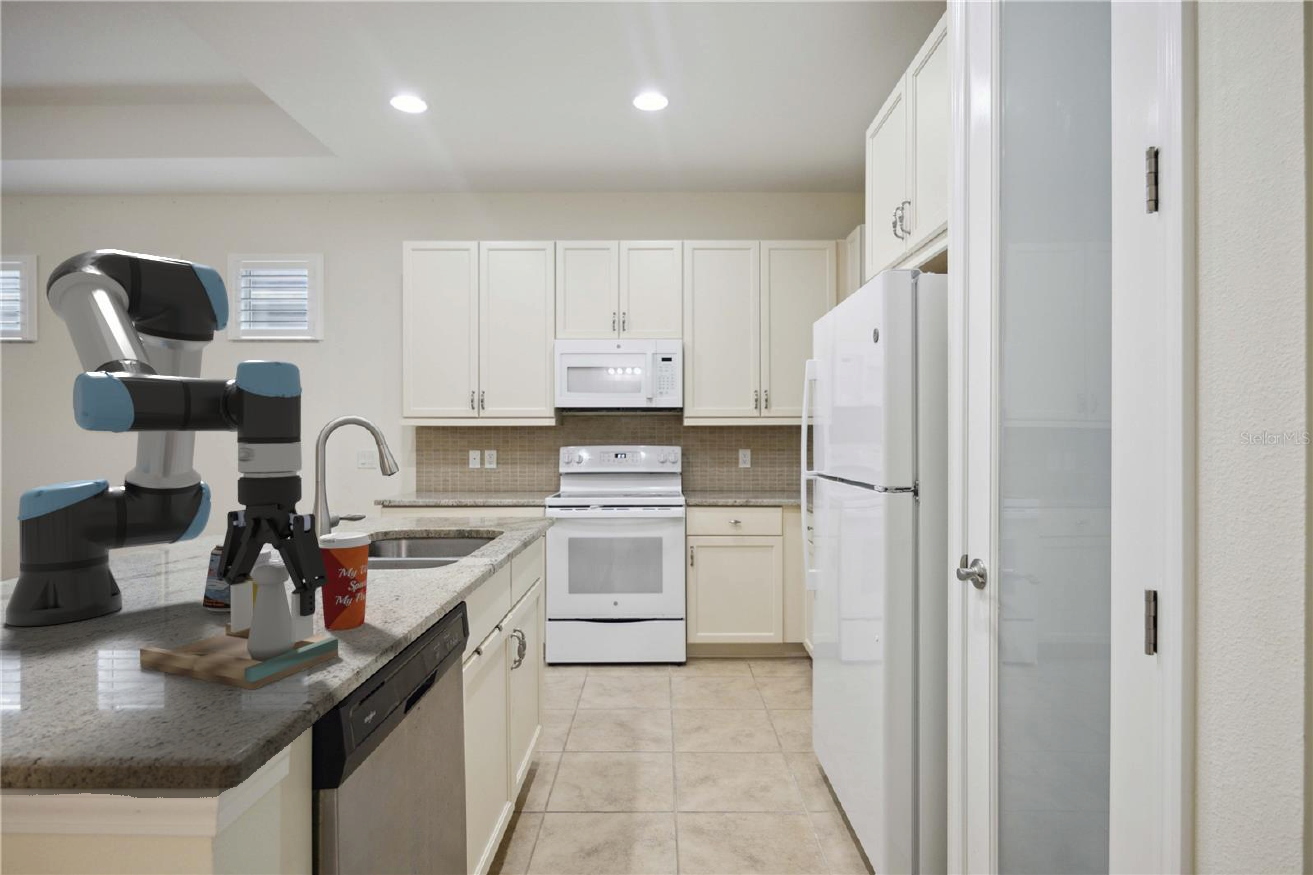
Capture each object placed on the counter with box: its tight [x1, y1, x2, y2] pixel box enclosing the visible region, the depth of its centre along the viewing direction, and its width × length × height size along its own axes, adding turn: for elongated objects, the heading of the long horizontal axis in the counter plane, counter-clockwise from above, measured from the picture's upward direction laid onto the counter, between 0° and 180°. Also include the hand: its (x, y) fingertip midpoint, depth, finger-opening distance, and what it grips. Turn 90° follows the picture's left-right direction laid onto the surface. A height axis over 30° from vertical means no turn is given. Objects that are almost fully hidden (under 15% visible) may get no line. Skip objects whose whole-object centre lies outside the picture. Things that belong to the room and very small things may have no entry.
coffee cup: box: [318, 531, 372, 631], centre depth 107 cm, size 8×8×15 cm
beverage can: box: [202, 543, 231, 612], centre depth 116 cm, size 6×7×12 cm
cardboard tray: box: [139, 621, 339, 691], centre depth 91 cm, size 22×13×2 cm, turn 69°
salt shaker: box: [247, 563, 295, 662], centre depth 88 cm, size 6×6×13 cm
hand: (271, 634), depth 89 cm, fingers open, 11 cm apart
